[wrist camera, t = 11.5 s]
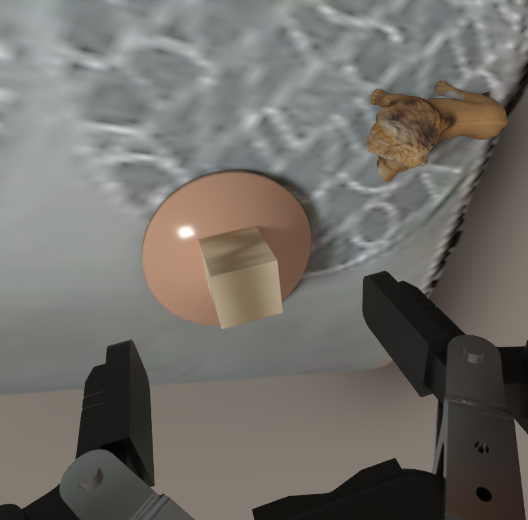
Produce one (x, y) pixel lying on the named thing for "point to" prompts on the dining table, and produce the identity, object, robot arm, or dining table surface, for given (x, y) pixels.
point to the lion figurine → (428, 125)
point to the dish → (217, 222)
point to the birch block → (241, 276)
